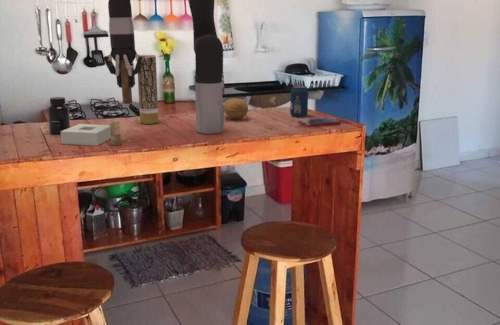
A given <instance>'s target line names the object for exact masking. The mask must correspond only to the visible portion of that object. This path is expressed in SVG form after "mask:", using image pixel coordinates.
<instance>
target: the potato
mask: <svg viewBox="0 0 500 325" xmlns="http://www.w3.org/2000/svg"><path fill="white" fill-rule="evenodd" d="M223 104H224V114H225V115H226V116H227V117H228V118H231V119H234V120H238V119H239V120H241V119H243V118H244V117H246V116H247V115H248V111H249V105H248V103H247V102H246V101H245V100H244V99H242V98H236V97H234V98H233V97H231V98H229V99H227V100H226V101H225V102H224V103H223Z"/></svg>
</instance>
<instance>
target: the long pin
mask: <svg viewBox="0 0 500 325" xmlns="http://www.w3.org/2000/svg"><path fill="white" fill-rule="evenodd" d="M120 73H121V85H122V88H121V95H122V104H125V105H129V104H133V94H132V93H133V92H132V88H130V87H129V78H128V76H129V74H128V70H127V68H126V64H125V60H120Z"/></svg>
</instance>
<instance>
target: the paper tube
mask: <svg viewBox="0 0 500 325" xmlns="http://www.w3.org/2000/svg"><path fill="white" fill-rule="evenodd" d="M139 55H140V56H144V57H145V59H144V62H143V65H142V68H141V71H140V73H138V74H137V83H138V84H137V86H138V89H137V90H138V101H139V103H138V104H139V106H138V108H139V121H140V123H141V124H144V125H153V124H157V123H158V122H159V102H158V100H159V99H158V81H157V80H158V79H157V77H158V76H157V60H156V59H157V56H156V55H155V54H139Z"/></svg>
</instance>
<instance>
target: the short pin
mask: <svg viewBox="0 0 500 325" xmlns="http://www.w3.org/2000/svg"><path fill="white" fill-rule="evenodd" d="M109 125H110V133H111V139H110V142H111V143H110V145H111V146H120V145H121V146H122V138H121V137H122V136H121V124H120V121H109Z"/></svg>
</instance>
